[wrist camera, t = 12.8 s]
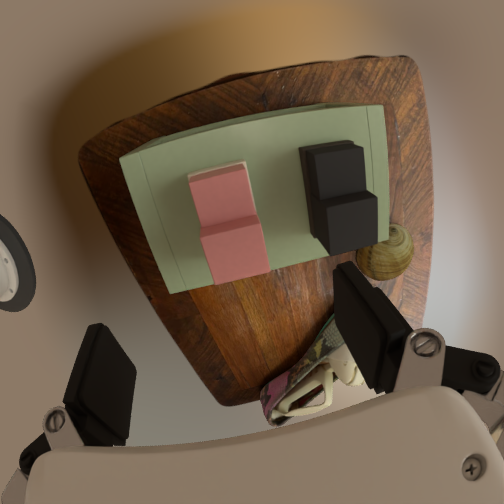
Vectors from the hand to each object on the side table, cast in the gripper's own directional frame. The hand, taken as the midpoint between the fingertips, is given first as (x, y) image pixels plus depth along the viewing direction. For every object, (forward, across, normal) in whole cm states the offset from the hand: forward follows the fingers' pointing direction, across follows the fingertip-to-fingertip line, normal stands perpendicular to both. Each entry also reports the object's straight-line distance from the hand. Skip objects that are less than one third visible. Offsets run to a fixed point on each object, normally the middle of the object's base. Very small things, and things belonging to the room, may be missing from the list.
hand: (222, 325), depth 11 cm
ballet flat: (+24, -9, +32) cm, 41 cm away
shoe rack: (+24, -5, 0) cm, 24 cm away
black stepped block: (+11, -9, 0) cm, 15 cm away
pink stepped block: (+12, -1, 0) cm, 12 cm away
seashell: (+23, -21, +15) cm, 35 cm away
